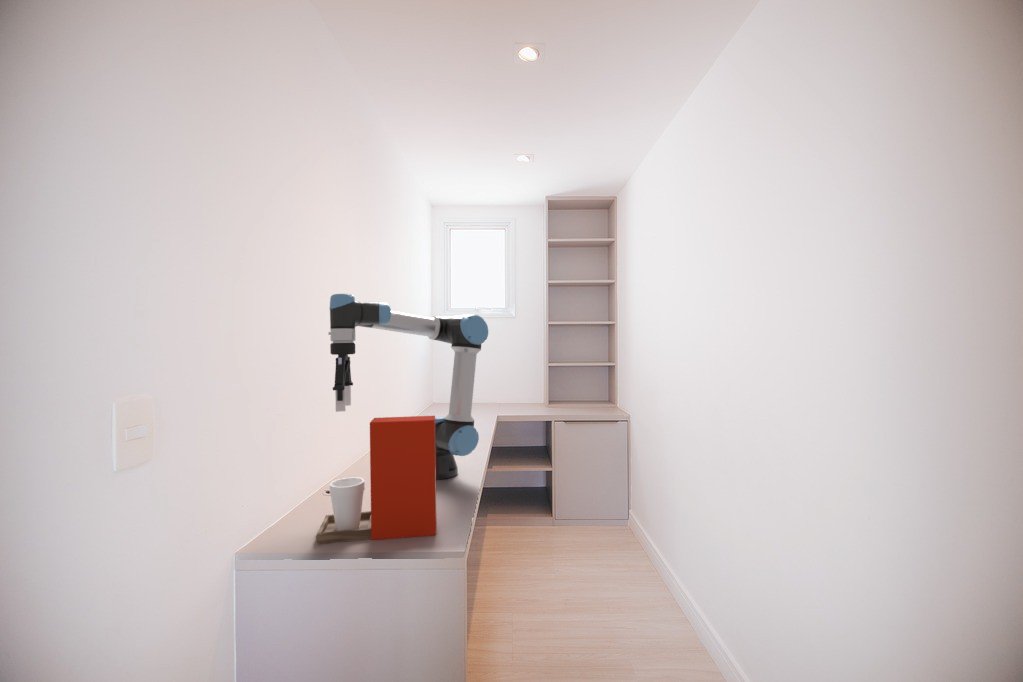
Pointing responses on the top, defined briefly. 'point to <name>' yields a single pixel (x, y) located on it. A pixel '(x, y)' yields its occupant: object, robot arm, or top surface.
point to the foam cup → (347, 502)
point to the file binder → (403, 477)
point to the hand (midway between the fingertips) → (343, 408)
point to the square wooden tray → (330, 534)
